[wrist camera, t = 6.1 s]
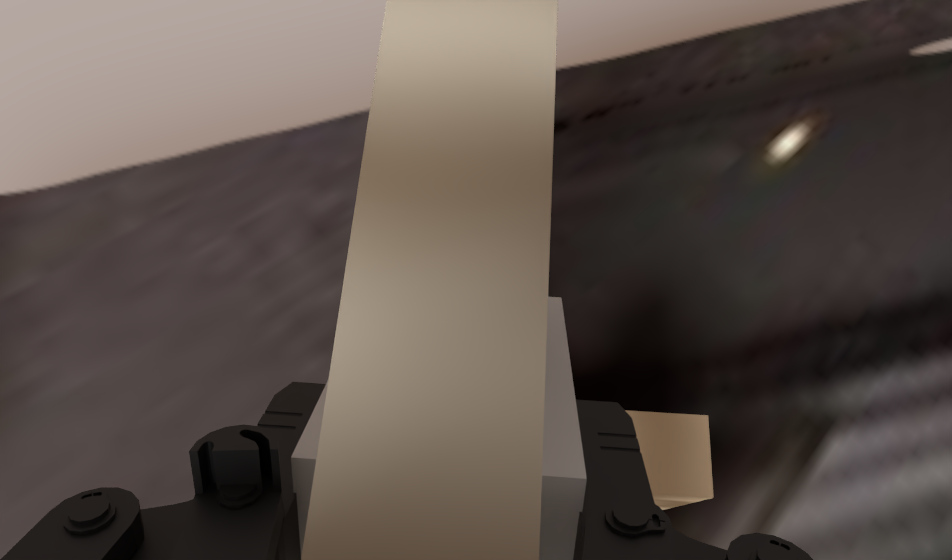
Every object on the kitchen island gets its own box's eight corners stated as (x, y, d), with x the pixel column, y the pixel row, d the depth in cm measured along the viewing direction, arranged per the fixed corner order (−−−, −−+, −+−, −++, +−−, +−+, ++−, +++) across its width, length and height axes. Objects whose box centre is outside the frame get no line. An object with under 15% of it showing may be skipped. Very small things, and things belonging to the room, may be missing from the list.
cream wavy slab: (504, 647, 17) (531, 757, 8) (385, 637, 17) (274, 735, 8) (525, 218, 22) (559, -35, 12) (431, 213, 22) (393, -43, 12)
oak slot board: (660, 443, 33) (708, 415, 26) (662, 509, 31) (713, 497, 25) (408, 427, 33) (394, 395, 26) (402, 493, 32) (385, 476, 25)
